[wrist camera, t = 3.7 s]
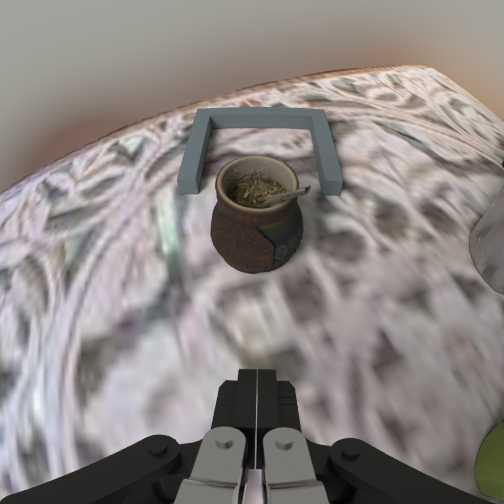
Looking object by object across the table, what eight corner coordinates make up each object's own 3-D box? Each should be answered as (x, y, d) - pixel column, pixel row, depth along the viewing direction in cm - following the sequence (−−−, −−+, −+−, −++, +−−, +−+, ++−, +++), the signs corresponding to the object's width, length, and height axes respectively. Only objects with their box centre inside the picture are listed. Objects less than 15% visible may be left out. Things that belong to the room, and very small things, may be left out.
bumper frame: (322, 122, 37) (323, 109, 35) (339, 195, 30) (343, 181, 28) (199, 121, 38) (197, 109, 36) (180, 194, 30) (176, 180, 29)
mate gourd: (246, 202, 30) (243, 113, 21) (316, 239, 27) (339, 150, 19) (197, 255, 26) (174, 167, 18) (272, 302, 24) (283, 222, 16)
